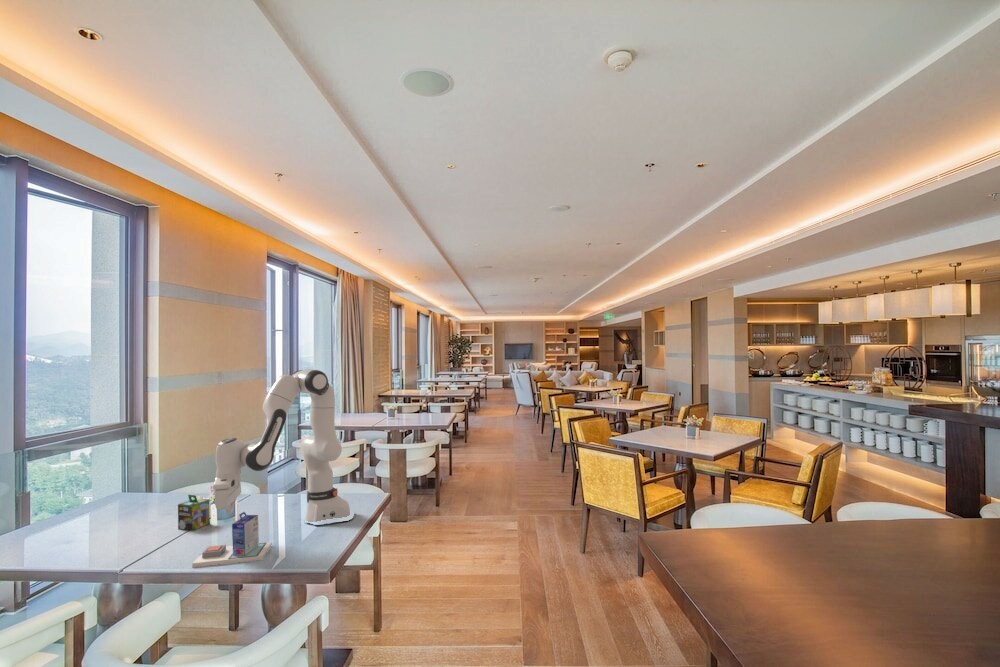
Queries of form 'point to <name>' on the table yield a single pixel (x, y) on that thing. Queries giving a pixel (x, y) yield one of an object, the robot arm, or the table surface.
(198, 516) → the chalk box
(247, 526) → the ink cartridge box
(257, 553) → the picture board
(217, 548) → the button
